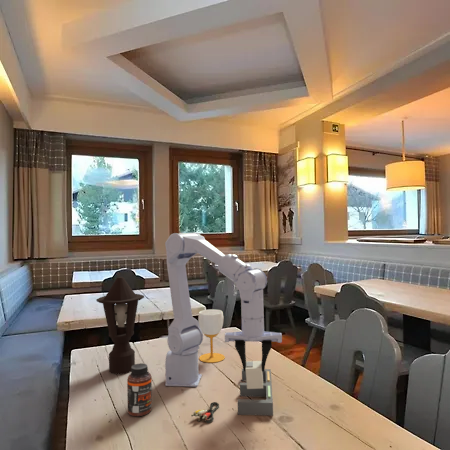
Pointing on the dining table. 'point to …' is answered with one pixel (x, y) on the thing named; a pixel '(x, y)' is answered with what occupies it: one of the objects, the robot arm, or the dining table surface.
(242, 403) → the socket panel
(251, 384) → the plug
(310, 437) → the dining table surface
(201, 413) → the composite cable
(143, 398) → the supplement bottle
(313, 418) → the dining table surface
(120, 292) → the lantern
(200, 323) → the cup
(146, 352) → the dining table surface
